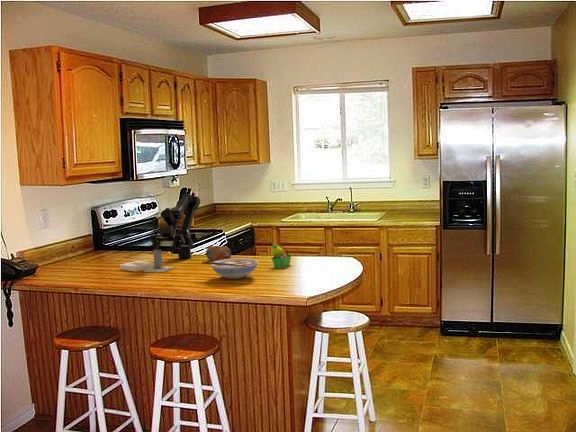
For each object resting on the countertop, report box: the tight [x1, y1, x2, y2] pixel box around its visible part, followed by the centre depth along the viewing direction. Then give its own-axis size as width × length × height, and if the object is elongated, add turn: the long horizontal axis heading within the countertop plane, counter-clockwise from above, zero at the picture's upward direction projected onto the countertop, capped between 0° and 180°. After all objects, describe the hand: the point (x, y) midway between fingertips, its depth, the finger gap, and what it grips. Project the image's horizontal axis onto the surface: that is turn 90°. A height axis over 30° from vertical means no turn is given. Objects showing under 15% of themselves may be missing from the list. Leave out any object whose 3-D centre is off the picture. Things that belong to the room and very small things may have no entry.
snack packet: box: [205, 245, 232, 262], centre depth 344 cm, size 15×3×8 cm, turn 62°
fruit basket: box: [271, 244, 292, 269], centre depth 322 cm, size 11×9×11 cm
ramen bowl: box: [202, 257, 259, 280], centre depth 298 cm, size 25×23×8 cm
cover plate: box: [119, 260, 154, 272], centre depth 332 cm, size 12×13×2 cm
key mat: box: [143, 266, 174, 273], centre depth 325 cm, size 11×11×1 cm
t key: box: [152, 248, 166, 269], centre depth 325 cm, size 3×6×10 cm, turn 75°
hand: (163, 252), depth 331 cm, fingers open, 9 cm apart
